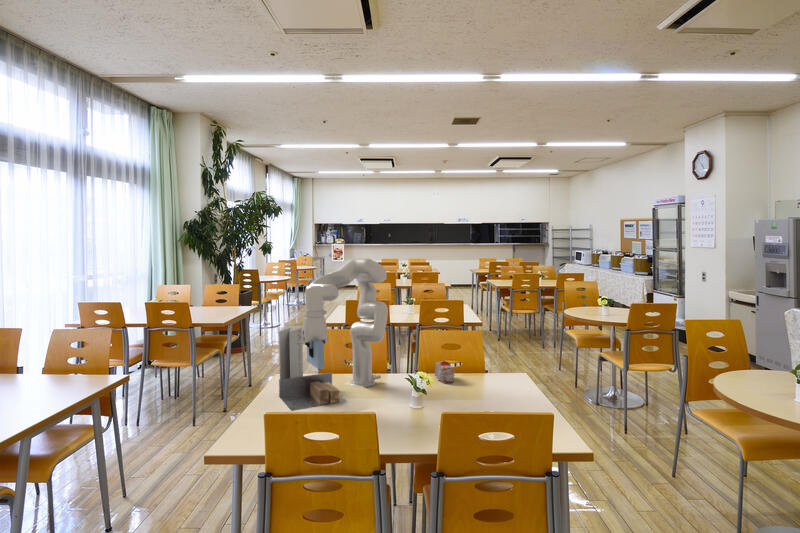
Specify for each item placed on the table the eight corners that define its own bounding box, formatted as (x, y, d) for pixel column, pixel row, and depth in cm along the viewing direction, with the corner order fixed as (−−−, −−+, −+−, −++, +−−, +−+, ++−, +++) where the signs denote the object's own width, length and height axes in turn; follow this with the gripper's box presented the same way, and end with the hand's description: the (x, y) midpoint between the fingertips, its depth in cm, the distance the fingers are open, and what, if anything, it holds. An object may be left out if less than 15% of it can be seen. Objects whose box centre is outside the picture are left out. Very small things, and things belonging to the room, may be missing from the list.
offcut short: (328, 392, 223) (328, 382, 222) (339, 401, 210) (339, 390, 210) (320, 393, 221) (320, 383, 221) (330, 402, 208) (330, 391, 208)
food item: (456, 383, 241) (456, 363, 240) (441, 384, 238) (441, 365, 238) (446, 376, 254) (446, 357, 253) (432, 377, 252) (432, 358, 251)
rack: (331, 390, 229) (331, 372, 228) (347, 403, 210) (347, 383, 210) (279, 398, 217) (278, 379, 217) (291, 413, 198) (291, 391, 198)
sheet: (312, 360, 213) (312, 336, 213) (324, 368, 199) (323, 342, 199) (307, 361, 212) (306, 336, 212) (318, 369, 198) (318, 343, 197)
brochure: (291, 395, 222) (289, 331, 221) (280, 394, 223) (278, 331, 222) (303, 386, 236) (302, 326, 235) (292, 385, 237) (291, 326, 236)
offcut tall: (318, 394, 220) (318, 381, 220) (328, 403, 208) (328, 389, 208) (310, 395, 218) (310, 382, 218) (319, 404, 206) (319, 390, 206)
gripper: (329, 311, 212) (330, 352, 212) (293, 314, 204) (294, 357, 205) (335, 314, 205) (335, 356, 206) (298, 316, 197) (299, 360, 198)
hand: (315, 356), depth 205 cm, fingers closed on sheet, 2 cm apart
